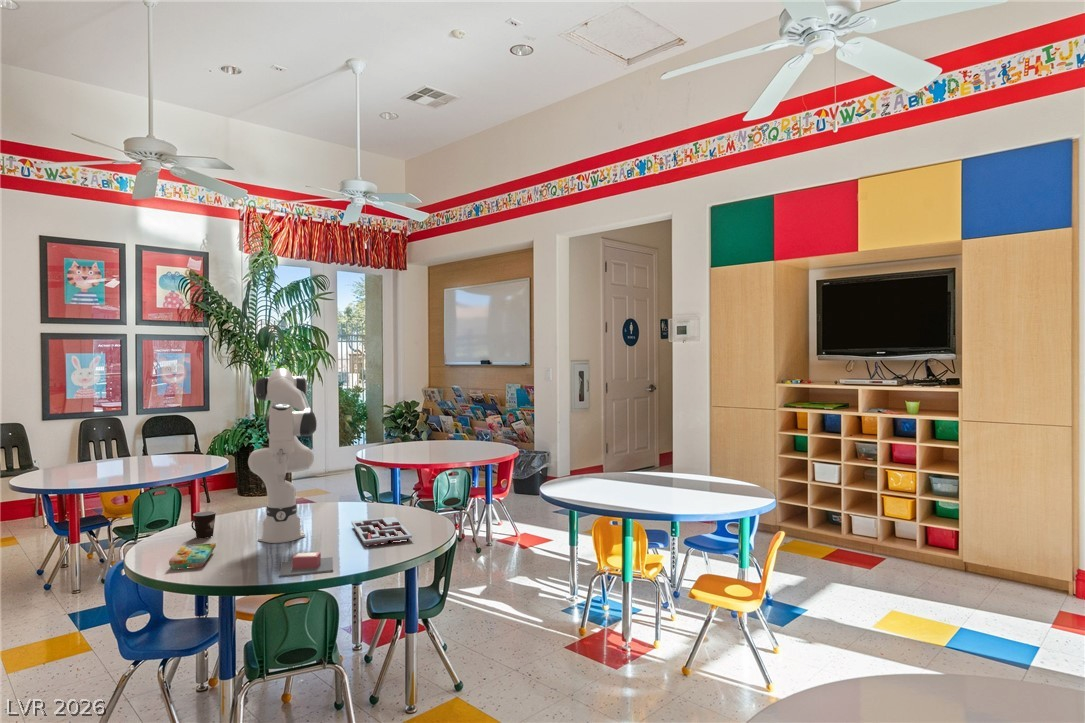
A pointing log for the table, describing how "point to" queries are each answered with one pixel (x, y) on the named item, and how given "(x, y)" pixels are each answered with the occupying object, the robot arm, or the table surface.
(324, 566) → the mat
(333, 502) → the table surface
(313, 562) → the card deck
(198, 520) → the coffee mug
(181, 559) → the puzzle game
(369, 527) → the maze game
